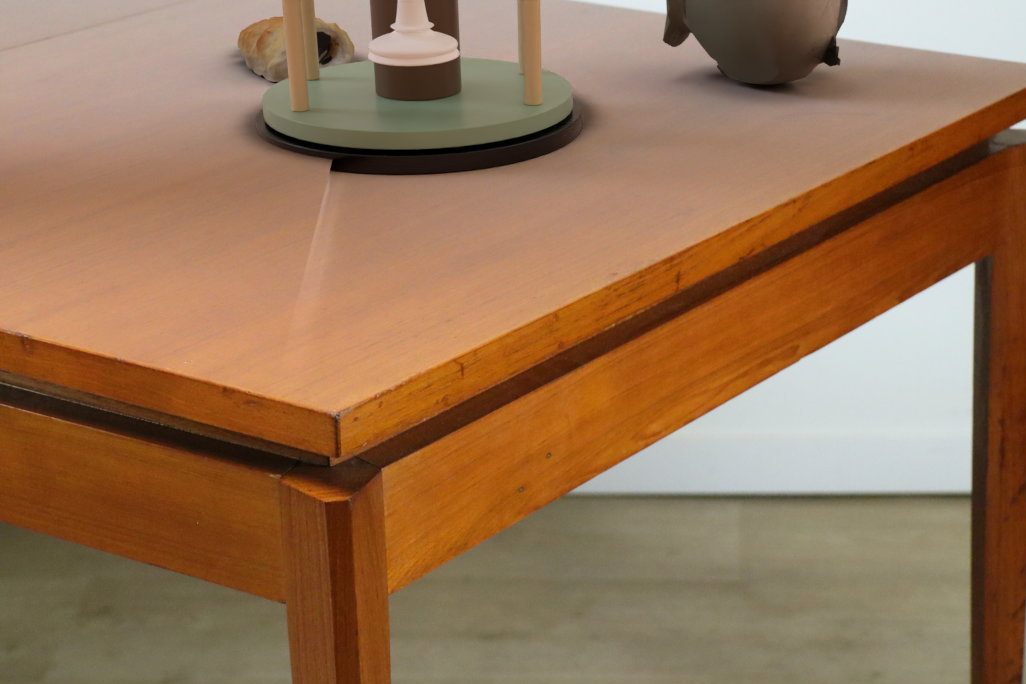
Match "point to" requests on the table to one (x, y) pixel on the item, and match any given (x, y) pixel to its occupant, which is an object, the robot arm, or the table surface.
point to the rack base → (432, 150)
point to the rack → (414, 89)
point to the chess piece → (412, 40)
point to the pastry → (268, 47)
